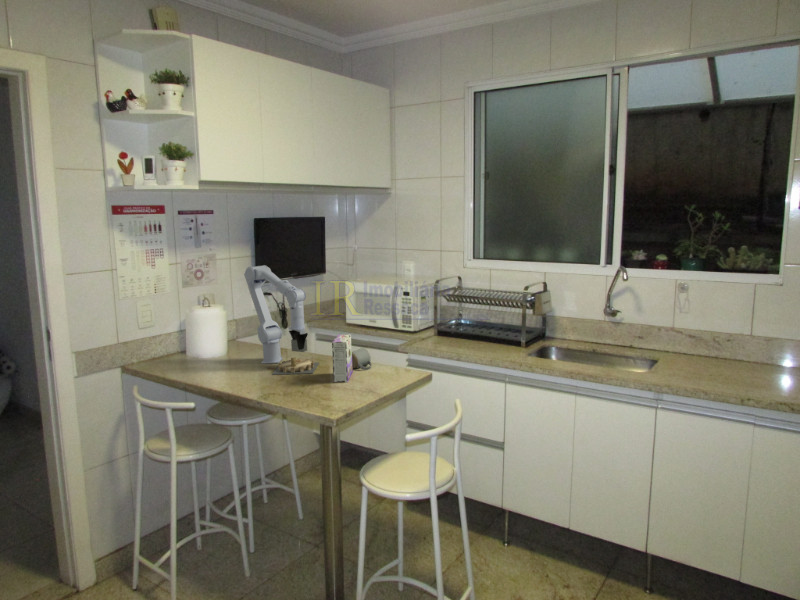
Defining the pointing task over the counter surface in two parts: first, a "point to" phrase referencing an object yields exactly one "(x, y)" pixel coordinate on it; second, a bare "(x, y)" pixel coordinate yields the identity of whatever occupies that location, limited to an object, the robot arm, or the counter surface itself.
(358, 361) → the ceramic mug
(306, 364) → the sprocket
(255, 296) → the robot arm
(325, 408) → the counter surface
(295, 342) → the banded gift box
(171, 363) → the counter surface
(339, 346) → the candy box
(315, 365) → the index plate
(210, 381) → the counter surface
